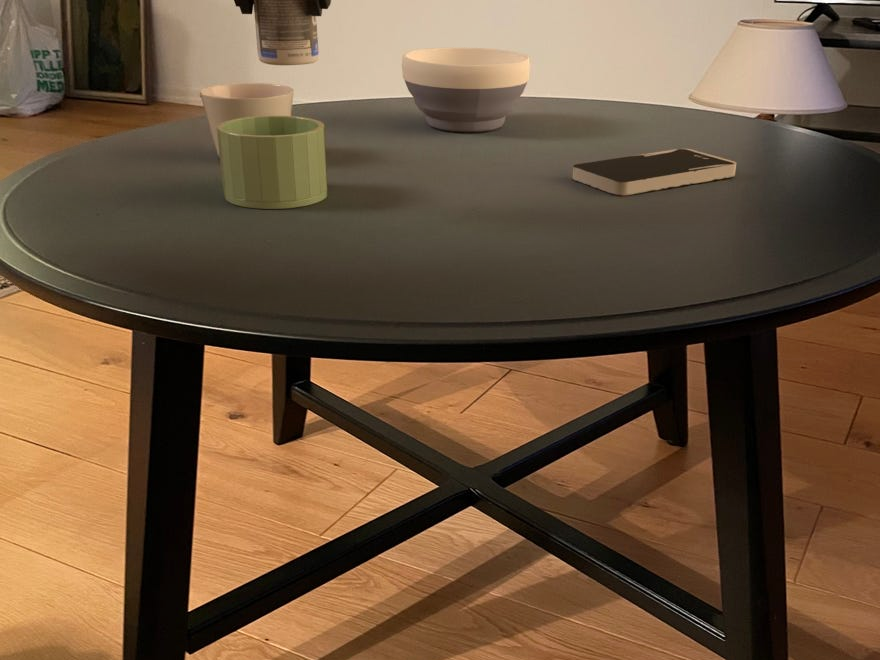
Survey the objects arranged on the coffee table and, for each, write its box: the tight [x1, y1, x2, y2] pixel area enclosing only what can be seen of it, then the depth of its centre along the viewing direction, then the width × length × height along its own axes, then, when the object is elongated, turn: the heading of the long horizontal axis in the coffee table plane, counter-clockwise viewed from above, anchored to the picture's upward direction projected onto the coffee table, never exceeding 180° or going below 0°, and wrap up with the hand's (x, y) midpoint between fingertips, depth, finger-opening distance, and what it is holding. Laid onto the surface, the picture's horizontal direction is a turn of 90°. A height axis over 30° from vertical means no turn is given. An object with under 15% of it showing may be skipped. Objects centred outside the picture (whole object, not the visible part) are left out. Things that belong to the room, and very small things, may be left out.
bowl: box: [401, 47, 531, 134], centre depth 117 cm, size 14×14×8 cm
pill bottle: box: [253, 0, 319, 66], centre depth 79 cm, size 5×5×8 cm
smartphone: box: [572, 148, 737, 197], centre depth 99 cm, size 8×1×15 cm
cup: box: [217, 115, 329, 210], centre depth 90 cm, size 9×9×6 cm
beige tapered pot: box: [199, 82, 294, 158], centre depth 102 cm, size 9×9×6 cm
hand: (279, 7), depth 77 cm, fingers closed on pill bottle, 4 cm apart
